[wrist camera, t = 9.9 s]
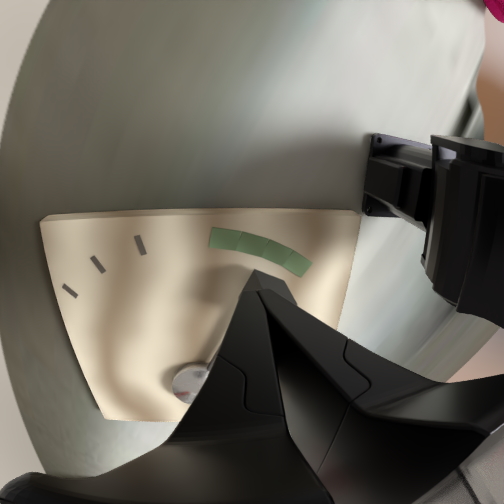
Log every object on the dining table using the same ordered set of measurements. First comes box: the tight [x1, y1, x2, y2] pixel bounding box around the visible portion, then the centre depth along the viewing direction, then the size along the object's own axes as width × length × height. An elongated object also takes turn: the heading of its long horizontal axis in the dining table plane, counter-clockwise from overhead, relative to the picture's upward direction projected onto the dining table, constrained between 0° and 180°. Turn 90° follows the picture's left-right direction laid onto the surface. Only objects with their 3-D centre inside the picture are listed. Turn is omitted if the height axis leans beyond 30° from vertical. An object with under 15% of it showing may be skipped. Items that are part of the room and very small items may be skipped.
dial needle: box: [172, 269, 298, 405], centre depth 21 cm, size 15×5×4 cm, turn 152°
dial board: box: [40, 208, 362, 422], centre depth 24 cm, size 23×22×2 cm
